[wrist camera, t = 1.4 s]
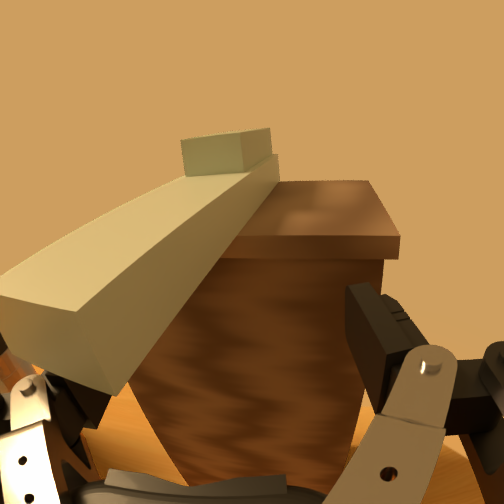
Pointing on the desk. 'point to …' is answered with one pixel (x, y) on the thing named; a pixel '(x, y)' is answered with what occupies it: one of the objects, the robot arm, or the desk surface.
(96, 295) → the cream plank with block
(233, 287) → the walnut stand
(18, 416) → the robot arm
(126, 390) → the desk surface
